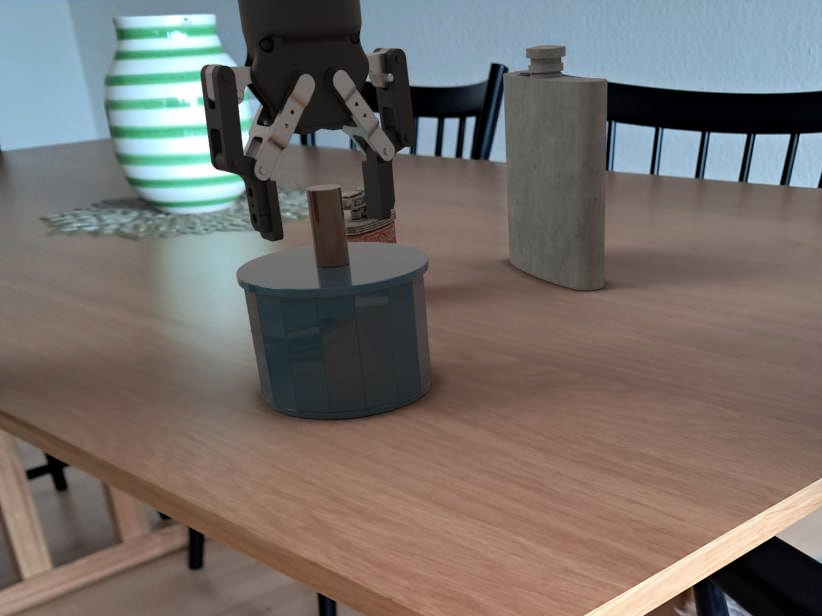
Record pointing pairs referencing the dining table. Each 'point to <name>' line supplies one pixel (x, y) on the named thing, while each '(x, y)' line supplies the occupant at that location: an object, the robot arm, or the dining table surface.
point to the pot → (342, 351)
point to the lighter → (366, 221)
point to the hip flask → (556, 171)
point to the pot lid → (331, 259)
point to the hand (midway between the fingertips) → (327, 228)
